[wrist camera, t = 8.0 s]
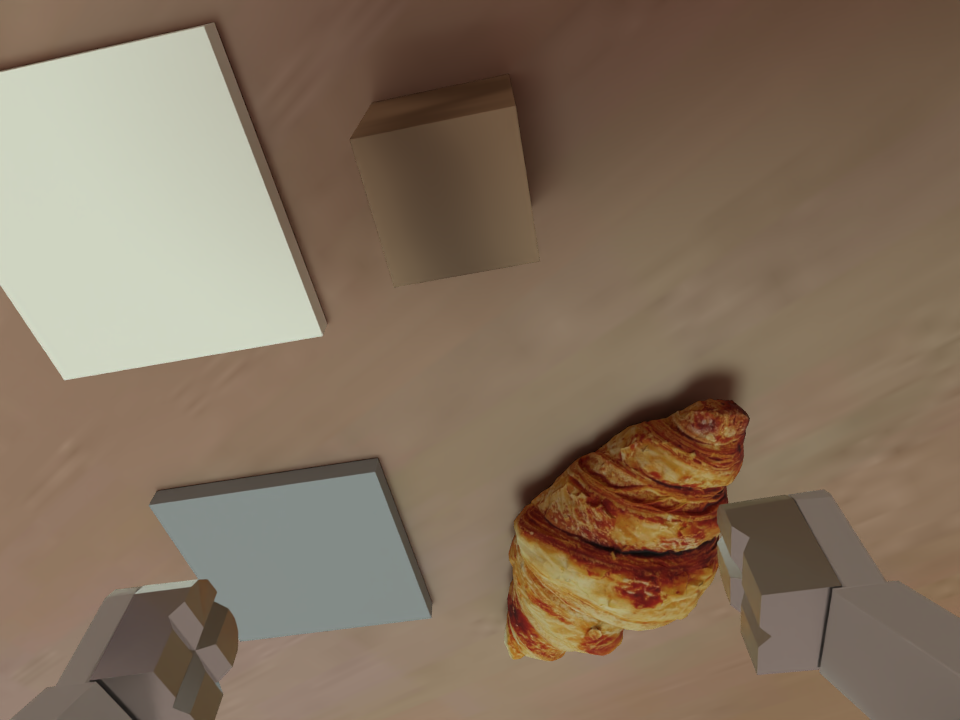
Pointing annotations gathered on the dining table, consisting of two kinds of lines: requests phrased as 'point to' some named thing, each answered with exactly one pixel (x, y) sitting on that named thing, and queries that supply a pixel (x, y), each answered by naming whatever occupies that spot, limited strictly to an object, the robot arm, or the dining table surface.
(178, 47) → the pad
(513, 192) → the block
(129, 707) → the robot arm
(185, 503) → the pad
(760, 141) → the dining table surface
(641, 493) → the croissant
